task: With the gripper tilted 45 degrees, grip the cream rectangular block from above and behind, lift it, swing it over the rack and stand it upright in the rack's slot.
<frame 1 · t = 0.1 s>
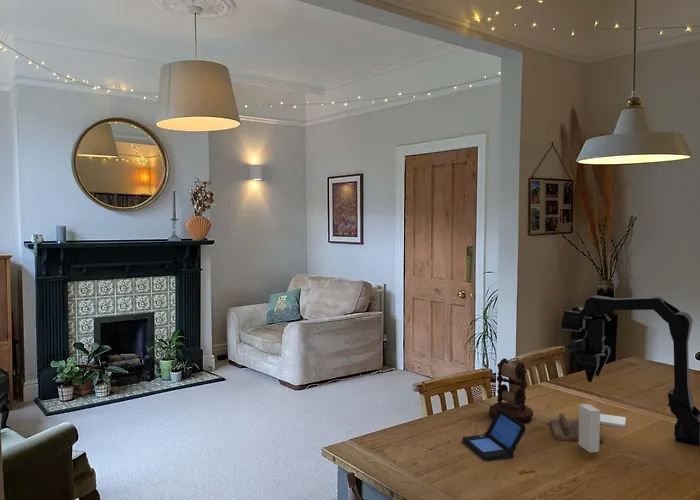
hand: (593, 378, 193), 15 cm above the table, tool pointing down, fingers open, 9 cm apart
handheld game console: (492, 449, 172), on the table
wooden spool holder: (510, 417, 198), on the table
cream rectangular block: (588, 448, 171), on the table
external hard drive: (605, 422, 194), on the table
rack: (575, 432, 184), on the table
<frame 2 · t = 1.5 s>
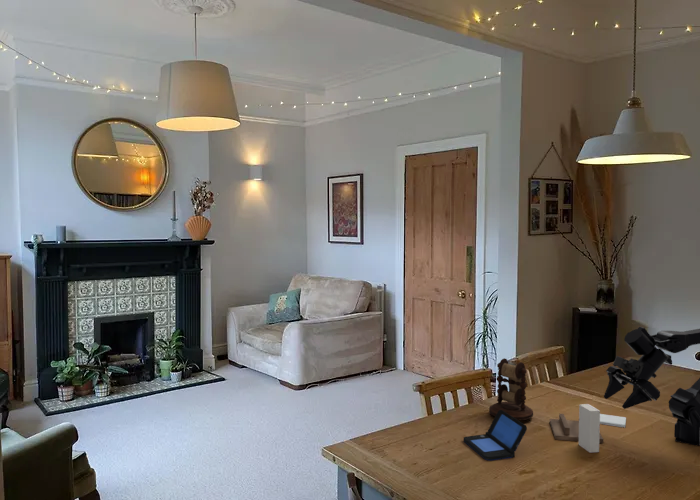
hand: (613, 402, 172), 13 cm above the table, tool tilted 45°, fingers open, 9 cm apart
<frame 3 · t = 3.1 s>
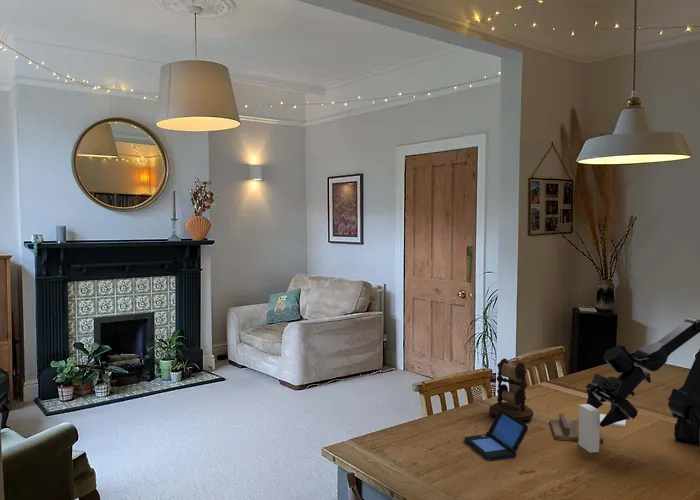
hand: (591, 420, 171), 9 cm above the table, tool tilted 45°, fingers open, 9 cm apart
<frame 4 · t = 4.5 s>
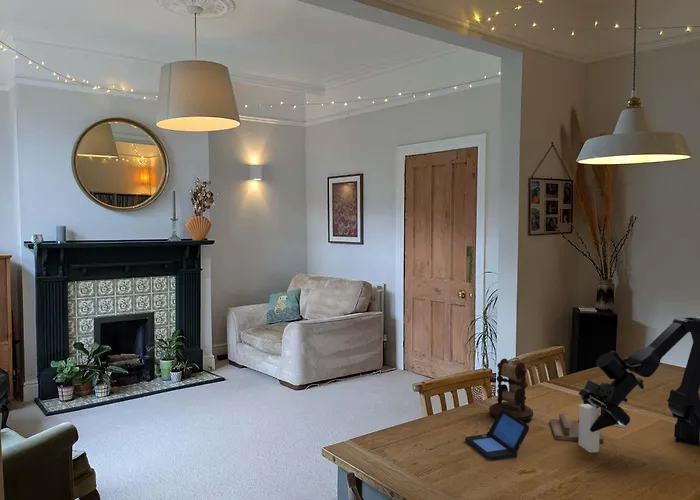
hand: (584, 426, 171), 7 cm above the table, tool tilted 45°, fingers closed on cream rectangular block, 6 cm apart
cream rectangular block: (588, 448, 171), on the table, touching gripper
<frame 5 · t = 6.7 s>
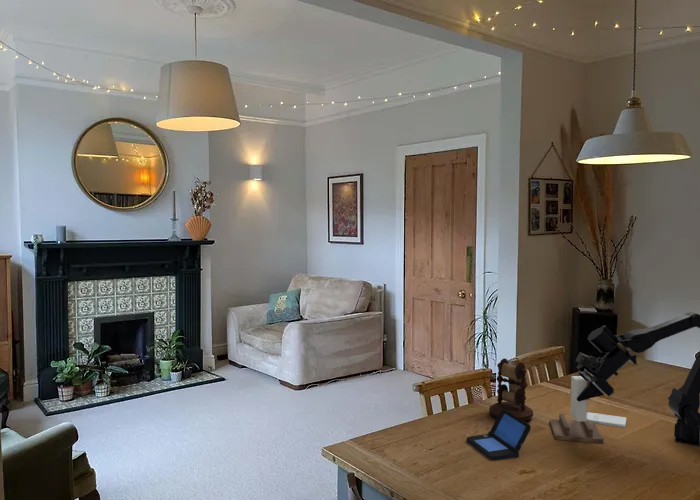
hand: (574, 397, 179), 13 cm above the table, tool tilted 45°, fingers closed on cream rectangular block, 6 cm apart
cream rectangular block: (578, 417, 179), point 6 cm above the table, touching gripper
when the fingers open (9 cm above the table, at t = 9.0 s): cream rectangular block drops 2 cm, resting on rack.
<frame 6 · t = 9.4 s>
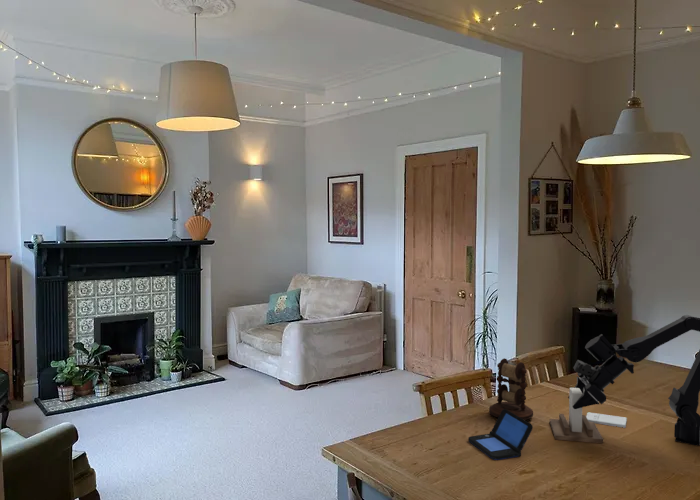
hand: (571, 403, 184), 9 cm above the table, tool tilted 45°, fingers open, 9 cm apart
cream rectangular block: (575, 428, 184), point 1 cm above the table, touching rack
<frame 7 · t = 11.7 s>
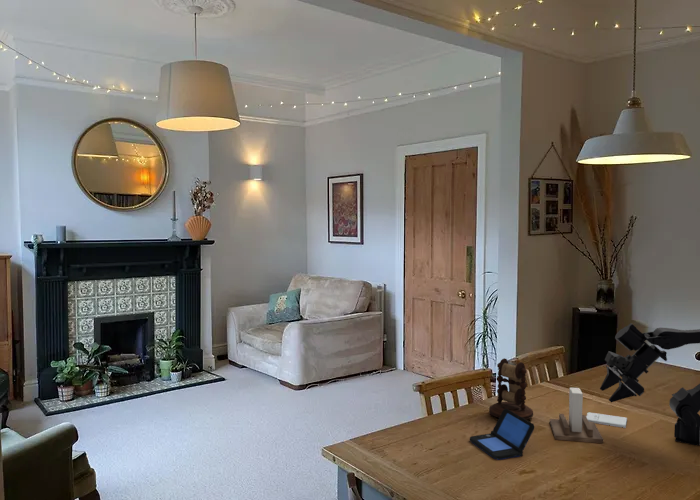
hand: (605, 395, 181), 13 cm above the table, tool tilted 40°, fingers open, 9 cm apart
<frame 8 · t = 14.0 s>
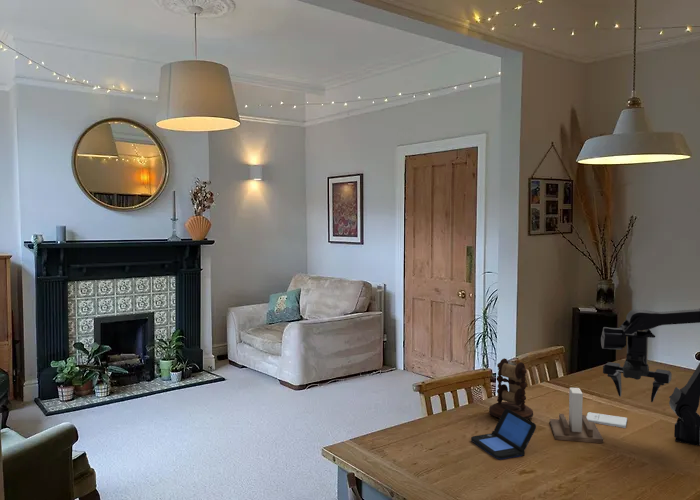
hand: (635, 399, 180), 12 cm above the table, tool pointing down, fingers open, 9 cm apart
at the end: cream rectangular block 0.0 cm off-centre on the rack, point 1.2 cm above the rack's base; cream rectangular block tilted 0°; the gripper is holding nothing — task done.
